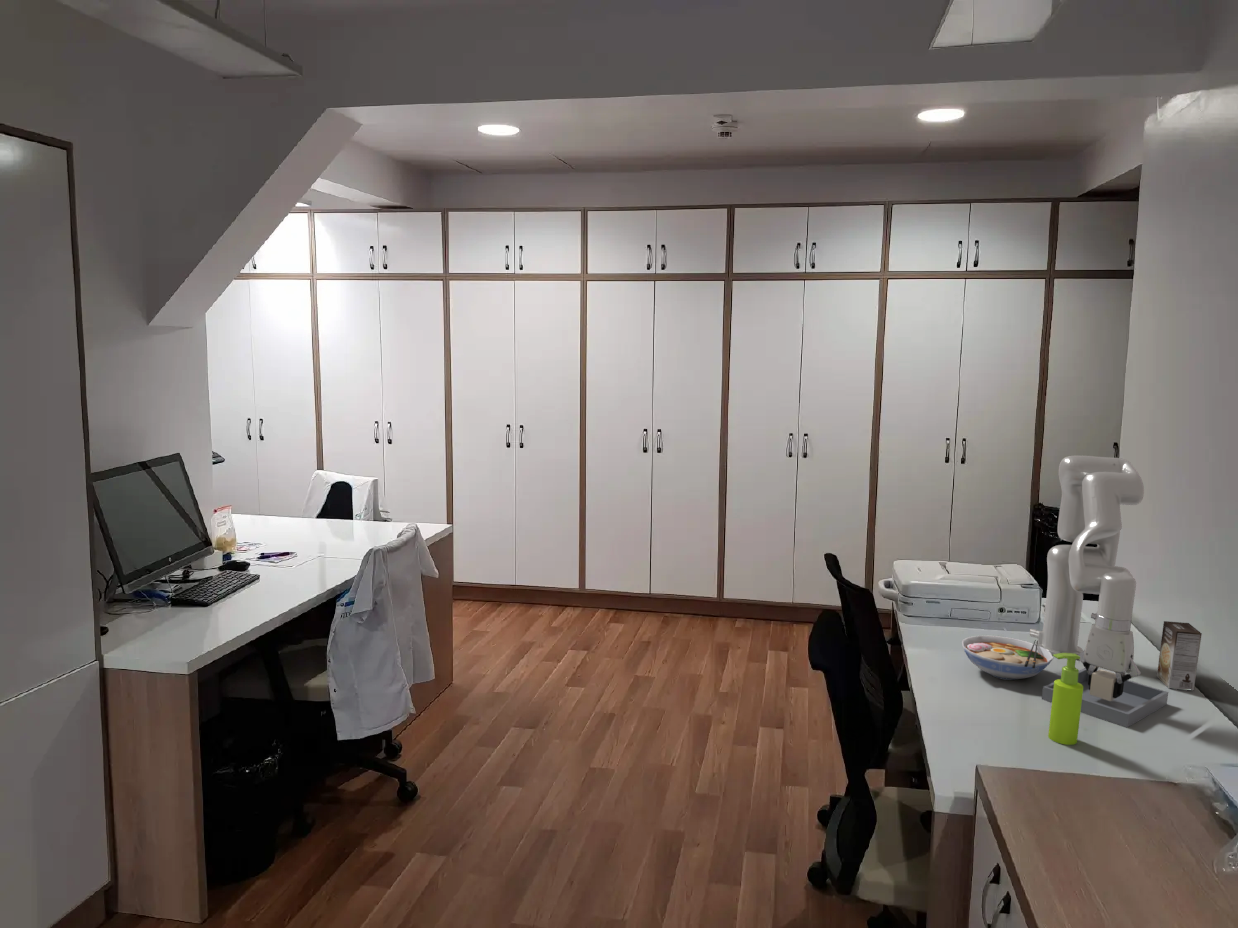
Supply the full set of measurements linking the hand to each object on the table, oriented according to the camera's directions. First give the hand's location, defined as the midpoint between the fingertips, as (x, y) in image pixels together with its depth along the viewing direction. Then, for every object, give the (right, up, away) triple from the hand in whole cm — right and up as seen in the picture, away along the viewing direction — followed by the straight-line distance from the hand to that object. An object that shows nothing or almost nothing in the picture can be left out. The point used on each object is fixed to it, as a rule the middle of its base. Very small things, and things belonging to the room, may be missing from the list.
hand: (1104, 692), depth 224 cm
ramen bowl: (-18, 0, +18) cm, 25 cm away
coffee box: (+28, -2, +16) cm, 32 cm away
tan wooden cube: (0, -1, 0) cm, 1 cm away
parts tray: (0, -3, 0) cm, 3 cm away
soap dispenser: (-22, -5, -21) cm, 31 cm away
